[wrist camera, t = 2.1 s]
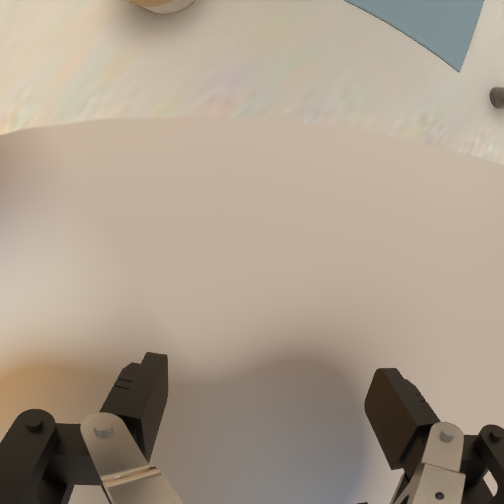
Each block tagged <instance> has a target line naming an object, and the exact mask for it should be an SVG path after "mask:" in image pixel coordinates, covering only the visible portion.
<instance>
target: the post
mask: <svg viewBox="0 0 504 504" xmlns="http://www.w3.org/2000/svg"><path fill="white" fill-rule="evenodd" d="M490 99H491V102H492V104H493V105H494V106H495V107H497V108H503V109H504V88H493V89H492V90H491V92H490Z"/></svg>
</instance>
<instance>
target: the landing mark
mask: <svg viewBox="0 0 504 504" xmlns="http://www.w3.org/2000/svg"><path fill="white" fill-rule="evenodd" d="M345 1H347V2H349V3H351V4H353V5H355V6H357V7H359V8H361V9H363V10H365V11H367V12H368V13H370V14H372V15H374V16H376V17H378V18H379V19H381V20H383V21H385V22H386V23H388V24H390V25H391V26H393V27H395V28H396V29H398V30H400V31H401V32H403V33H404V34H406V35H408V36H409V37H411V38H412V39H414V40H415V41H417V42H418V43H420V44H421V45H423V46H424V47H426V48H427V49H429V50H430V51H431V52H433V53H434V54H436V55H437V56H438V57H440V58H441V59H442V60H444V61H445V62H446V63H448V64H449V65H450V66H452V67H453V68H454V69H455V70H457V71H458V72H460V70H461V67H462V64H463V62H464V59H465V56H466V54H467V51H468V48H469V45H470V42H471V39H472V36H473V33H474V31H475V27H476V24H477V21H478V18H479V15H480V12H481V8H482V5H483V2H484V0H345Z"/></svg>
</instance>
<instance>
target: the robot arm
mask: <svg viewBox="0 0 504 504" xmlns="http://www.w3.org/2000/svg"><path fill="white" fill-rule="evenodd" d="M167 397H168V357H167V355H165V354H158V353H151V352H147V353H146V354H145V356H144V359H143V360H142V363H141V364H138V363H131V364H129V365H128V366H126V367H125V368H123V369H122V371H121V373H120V375H119V376H118V380H116V382H115V384H114V387H112V389H111V391H110V393H109V395H108V397H107V399H106V400H105V402H104V404H103V406H102V408H101V410H100V412H99V413H95V414H92V415H89V416H88V417H86V418H85V419H84V420H83V421H82V423H81V424H61V423H55V420H54V418H53V416H52V415H51V414H49V413H48V412H46V411H44V410H40V409H30V410H27V411H24V412H22V413H21V414H20V415H19V416H18V417H17V418H16V420H15V421H14V423H13V424H12V426H11V427H10V429H9V430H8V432H7V433H6V435H5V437H4V438H3V440H2V441H1V443H0V504H68V502H69V499H70V496H71V494H72V491H73V488H74V485H100V486H101V488H102V490H103V492H104V494H105V496H106V498H107V500H108V502H109V504H184V503H183V502H182V501H181V500H180V498H179V497H178V495H177V494H176V493H175V492H174V490H173V489H172V488H171V486H170V485H169V483H168V482H167V480H166V479H165V478H164V476H163V475H162V473H161V472H160V471H159V470H158V469H157V468H156V467H151V466H150V465H149V461H150V458H151V454H152V451H153V447H154V444H155V440H156V436H157V433H158V430H159V426H160V423H161V419H162V416H163V413H164V409H165V406H166V402H167ZM365 413H366V415H367V417H368V419H369V421H370V424H371V426H372V428H373V430H374V432H375V434H376V437H377V439H378V441H379V443H380V445H381V448H382V450H383V452H384V454H385V456H386V459H387V461H388V463H389V466H390V468H391V470H395V469H400V468H403V469H404V471H405V472H404V473H403V474H402V476H401V478H400V481H399V483H398V486H397V488H396V491H395V493H394V495H393V497H392V500H391V502H390V504H504V429H503V428H501V427H499V426H497V425H486V426H484V427H483V428H482V429H481V431H480V433H479V434H478V435H463V432H462V431H461V430H460V429H459V428H458V427H457V426H456V425H454V424H451V423H448V422H441V421H440V420H439V419H438V417H437V416H436V414H435V413H434V411H433V410H432V409H431V407H430V406H429V404H428V403H427V402H425V399H424V397H423V396H421V393H420V392H419V390H418V389H417V388H416V386H415V385H413V384H412V383H410V382H409V381H408V380H407V379H404V378H403V377H402V375H401V374H400V372H399V371H398V370H397V369H396V368H380V369H377V370H376V372H375V374H374V377H373V380H372V383H371V385H370V388H369V391H368V393H367V396H366V399H365ZM489 470H490V472H491V474H492V475H493V477H494V479H495V480H496V482H497V485H498V490H497V493H496V495H495V496H494V497H493V495H492V494H491V492H490V490H489V488H488V486H487V484H486V483H485V481H484V479H483V477H484V476H485V475H486V473H487V472H488V471H489ZM359 504H368V503H367V502H365V503H359Z"/></svg>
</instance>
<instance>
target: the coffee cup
mask: <svg viewBox="0 0 504 504" xmlns="http://www.w3.org/2000/svg"><path fill="white" fill-rule="evenodd" d="M126 1H129V2H131V3H133V4H135V5H138V6H142V7H144V8H146V9H148V10H150V11H152V12H154V13H158V14H170V13H175V12H178V11H180V10H182V9H184V8H186V7H188V6H189V5H190V4H191V3H193V2H194V1H195V0H126Z"/></svg>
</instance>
